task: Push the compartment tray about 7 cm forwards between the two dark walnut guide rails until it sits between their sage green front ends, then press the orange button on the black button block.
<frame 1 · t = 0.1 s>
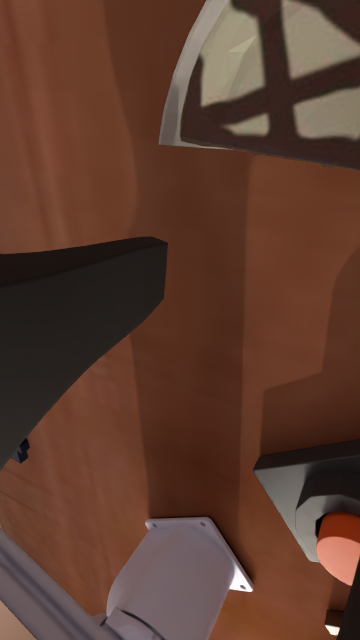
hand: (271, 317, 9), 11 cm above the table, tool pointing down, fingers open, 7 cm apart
desk button: (352, 549, 19), point 4 cm above the table, slide at 0.1 cm
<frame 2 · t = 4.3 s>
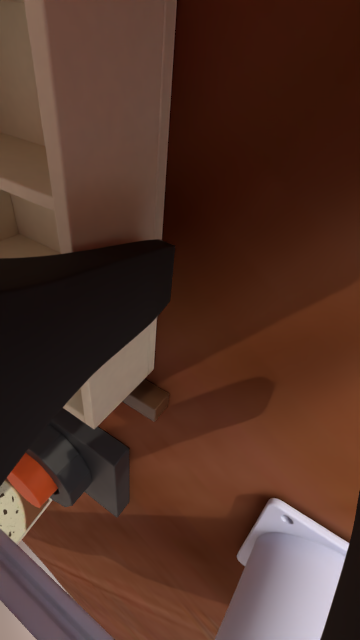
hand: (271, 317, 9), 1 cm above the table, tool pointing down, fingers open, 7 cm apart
button block: (74, 437, 27), on the table
guide rails: (27, 191, 15), on the table
compartment tray: (79, 212, 14), on the table, touching gripper
desk button: (32, 478, 24), point 4 cm above the table, slide at 0.1 cm
food container: (22, 468, 43), on the table
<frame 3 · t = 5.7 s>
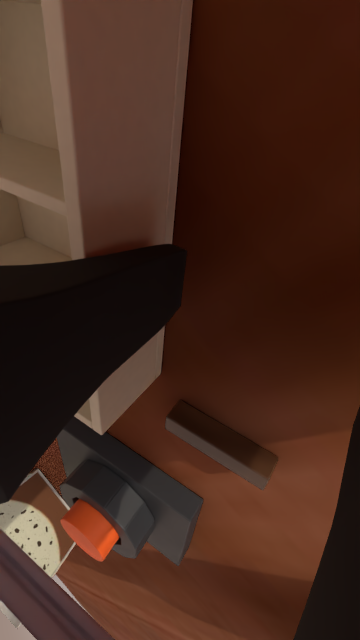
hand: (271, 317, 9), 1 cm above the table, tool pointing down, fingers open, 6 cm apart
button block: (130, 477, 25), on the table
guide rails: (130, 232, 13), on the table
compartment tray: (87, 215, 13), on the table, touching gripper
desk button: (91, 527, 22), point 4 cm above the table, slide at 0.1 cm
food container: (53, 494, 41), on the table
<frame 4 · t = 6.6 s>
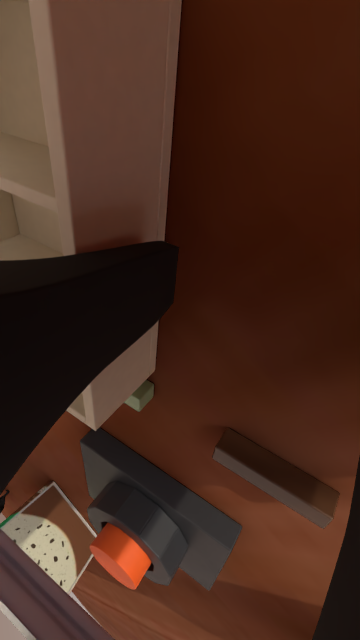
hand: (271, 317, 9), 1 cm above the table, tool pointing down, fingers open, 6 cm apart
button block: (158, 498, 24), on the table
guide rails: (188, 254, 12), on the table
compartment tray: (81, 212, 13), on the table, touching gripper
desk button: (121, 553, 21), point 4 cm above the table, slide at 0.1 cm
creature: (1, 481, 57), on the table
food container: (67, 506, 40), on the table
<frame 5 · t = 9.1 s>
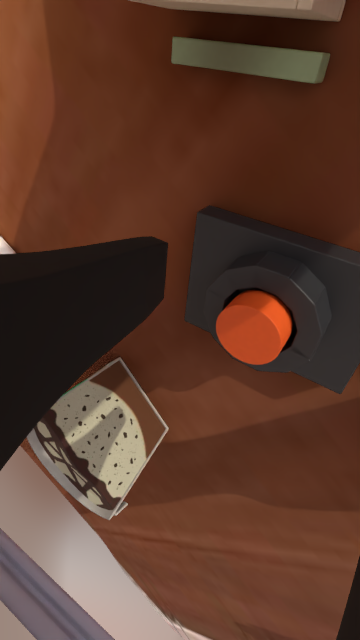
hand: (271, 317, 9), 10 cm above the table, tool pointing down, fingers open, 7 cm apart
button block: (279, 294, 21), on the table
desk button: (253, 327, 18), point 4 cm above the table, slide at 0.1 cm
food container: (129, 394, 37), on the table
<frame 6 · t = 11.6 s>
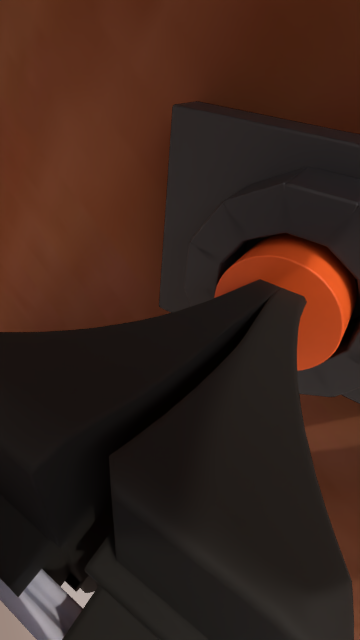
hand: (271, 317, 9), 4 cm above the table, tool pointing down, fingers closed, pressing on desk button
button block: (314, 259, 12), on the table
desk button: (282, 303, 10), point 3 cm above the table, slide at -0.5 cm, touching gripper
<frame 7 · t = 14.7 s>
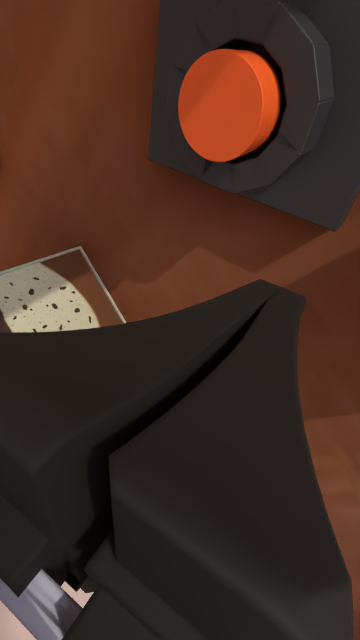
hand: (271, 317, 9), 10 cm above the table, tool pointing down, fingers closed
button block: (267, 100, 16), on the table
desk button: (228, 108, 13), point 4 cm above the table, slide at 0.1 cm
food container: (92, 299, 33), on the table
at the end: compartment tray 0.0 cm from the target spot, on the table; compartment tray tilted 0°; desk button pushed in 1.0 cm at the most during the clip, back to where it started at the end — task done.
